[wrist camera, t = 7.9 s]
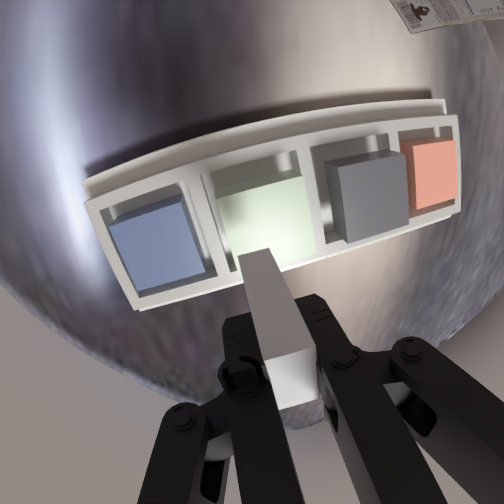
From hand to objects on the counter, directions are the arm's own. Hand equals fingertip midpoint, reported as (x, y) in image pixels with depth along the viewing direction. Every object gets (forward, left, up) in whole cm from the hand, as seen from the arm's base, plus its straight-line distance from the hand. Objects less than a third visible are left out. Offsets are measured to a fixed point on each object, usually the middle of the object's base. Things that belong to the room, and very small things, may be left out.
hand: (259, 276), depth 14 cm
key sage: (0, +2, -8) cm, 8 cm away
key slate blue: (0, -6, -10) cm, 12 cm away
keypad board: (0, +6, -12) cm, 14 cm away
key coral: (0, +18, -10) cm, 20 cm away
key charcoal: (0, +10, -8) cm, 12 cm away
